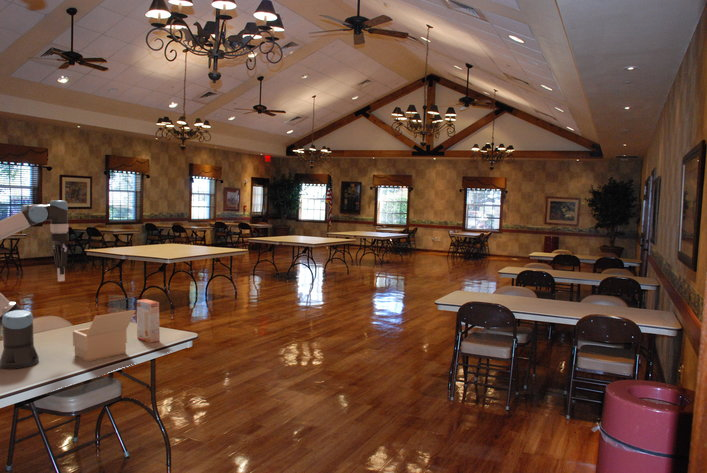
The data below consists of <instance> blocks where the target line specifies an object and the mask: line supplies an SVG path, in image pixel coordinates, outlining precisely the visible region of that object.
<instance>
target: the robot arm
mask: <svg viewBox="0 0 707 473" xmlns="http://www.w3.org/2000/svg"><path fill="white" fill-rule="evenodd" d="M68 208H69V206H68V201H66V200H50V202H49V204H22V205H21V206H20V212H16V213H15V214H13V215H10V216H8V217H6V218H3V219H1V220H0V241H1V240H4V239H5V238H8V237H10V236H12V235H14V234H17V233H19V232H22V231H23V230H25V229H27V228H30V227H33V226H34V225H37V224H39V223H42V222H45V221H50V232H51V233H50V241H52V242H54V246H51V249H52V252H53V260H54V265H55V267H56V268H57V269H56V270H57V282H65V280H66V278H65V276H66V273H65V272H66V271H65V268H66V267H67V265H68V253H69V247H67V244H66V241H67V242H68V241H69V238H70V236H69V228H70V225H69V209H68ZM0 328H1V329H2V341H3V342H2V343H3V350H2V353H1V356H0V368H1V369H3V368H5V370H13V369H14V370H16V368H17V369H22V368H28V367H31V366H34V365H37V364H38V363H39V361H40V360H39V358H40V357H39V354H38V352H37V350H36V347H35V344H34V341H35V340H34V317H33V313H32V312H31V311H29V310H25V309H24V308H22V307H21V306H20V305H19V304H18V303H17V302H16V301H10V300H9V299H8V298H7V297H5V295H3V294H2V293H1V292H0Z"/></svg>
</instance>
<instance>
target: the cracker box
mask: <svg viewBox="0 0 707 473" xmlns="http://www.w3.org/2000/svg"><path fill="white" fill-rule="evenodd" d="M136 330H137V331H136V333H137V335H136V336H137V339H138V340H141V341H143V342H147V343H149V344H152V343H156V342H160V341H161V340H160V302H159V301H156V300H151V299H147V298H143V299H142V298H141V299H138V300H136Z"/></svg>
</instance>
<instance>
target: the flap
mask: <svg viewBox="0 0 707 473" xmlns="http://www.w3.org/2000/svg"><path fill="white" fill-rule="evenodd" d="M135 313H136V309H132V310H131V309H130V310H124V311H118V312H112V313H106V314H100V315H94V317H93V320H92V321H91V325H90V327H89V328H90V329H89V331H88V333H87V335H86V336H87V337H88V336H93V335H99V334H104V333H109V332H115V331H120V330H127V329H128V327H129V325H130V324H131V321H132V319H133V317H134V315H135Z"/></svg>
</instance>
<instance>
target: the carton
mask: <svg viewBox="0 0 707 473" xmlns="http://www.w3.org/2000/svg"><path fill="white" fill-rule="evenodd" d="M89 329H90V327H87V328H81V329H75V330H72V346H73V347H74V357H76V358H79V359H81V360H83V361H85V362H87V363H88V362H93V361H97V360H102V359H106V358H111V357H117V356H120V355H124V354H127V351H126V350H127V347H126V346H127V345H126V344H127V343H128V342H127V340H128V336H127V329H126V330H120V331H115V332H109V333H104V334H99V335H93V336H88V337H87V336H86V335H87V333H88V331H89Z"/></svg>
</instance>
